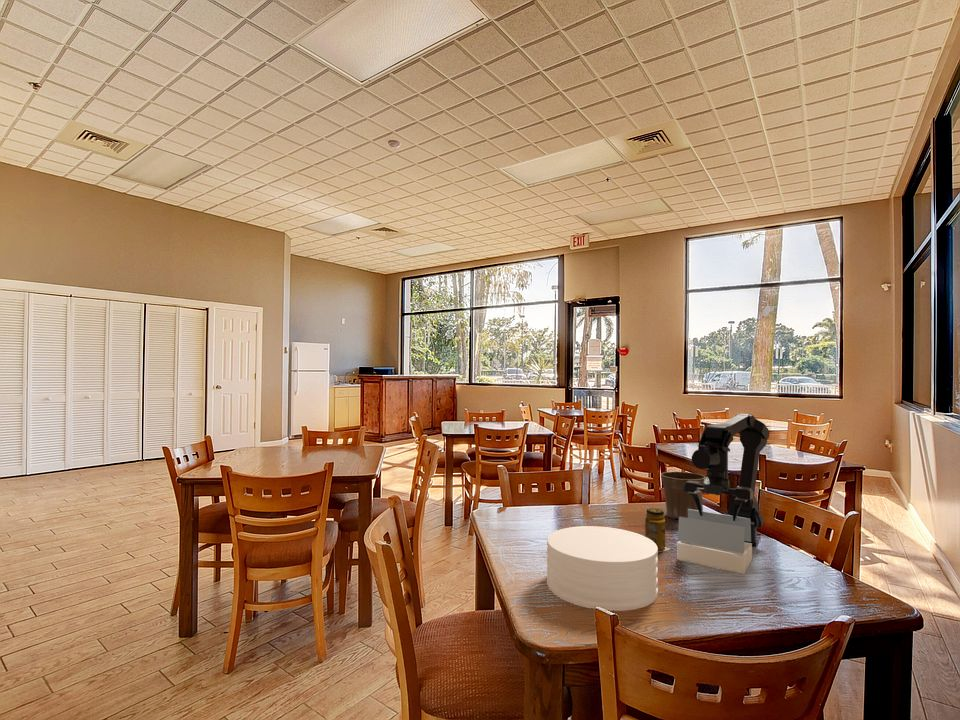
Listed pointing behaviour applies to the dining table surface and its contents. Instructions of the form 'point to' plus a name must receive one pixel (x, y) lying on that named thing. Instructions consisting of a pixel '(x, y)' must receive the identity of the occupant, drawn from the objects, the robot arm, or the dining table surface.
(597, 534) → the plate stack
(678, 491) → the plant pot
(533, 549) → the dining table surface
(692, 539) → the flap
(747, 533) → the flap
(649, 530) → the condiment
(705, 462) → the robot arm
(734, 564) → the carton
